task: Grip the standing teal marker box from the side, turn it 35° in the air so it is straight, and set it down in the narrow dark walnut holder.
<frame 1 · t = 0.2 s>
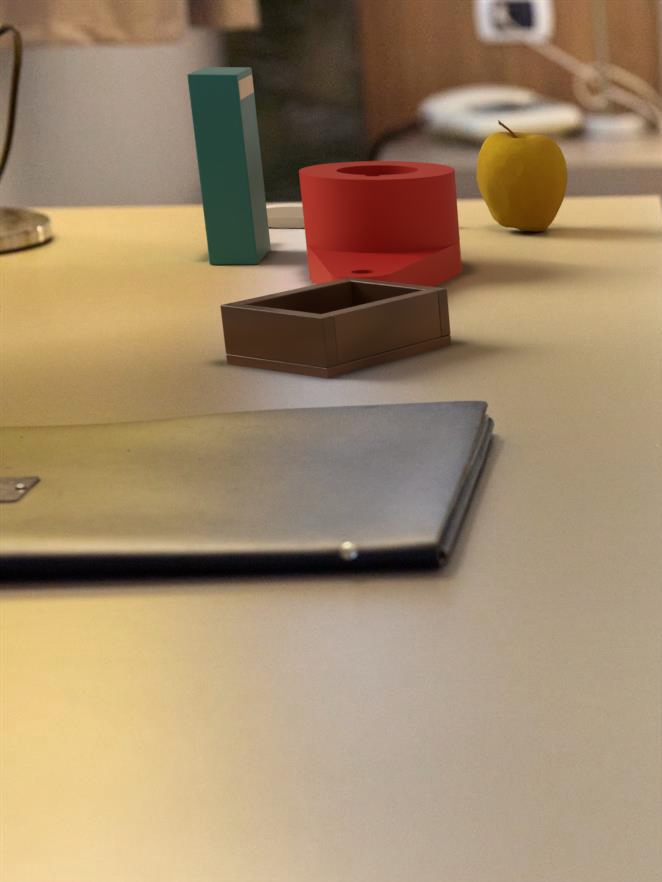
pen: (349, 229, 144), on the table
marker box: (241, 257, 131), on the table
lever: (379, 290, 122), on the table
apple: (525, 234, 144), on the table
holder: (342, 359, 103), on the table
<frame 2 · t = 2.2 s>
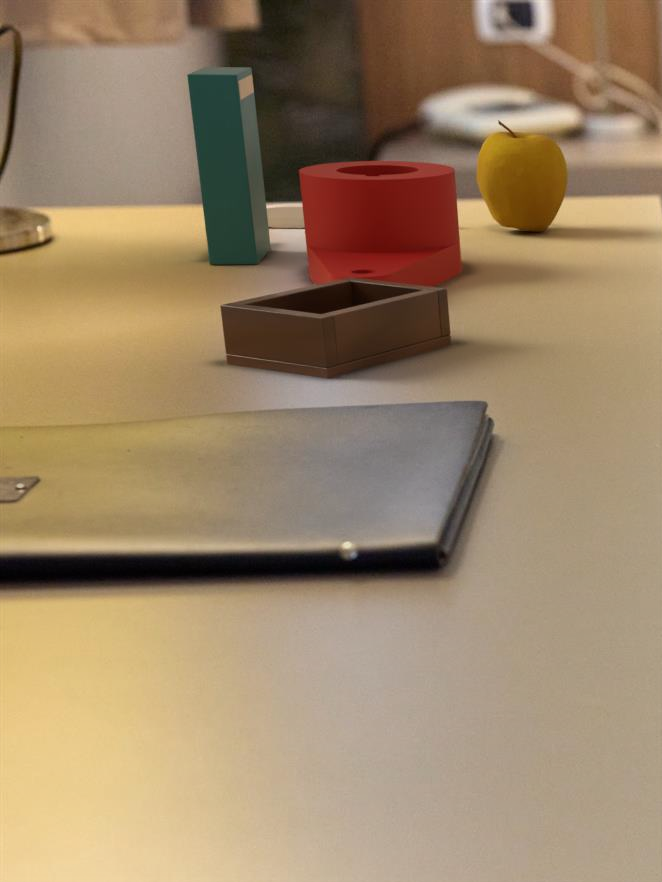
nothing on the table moved.
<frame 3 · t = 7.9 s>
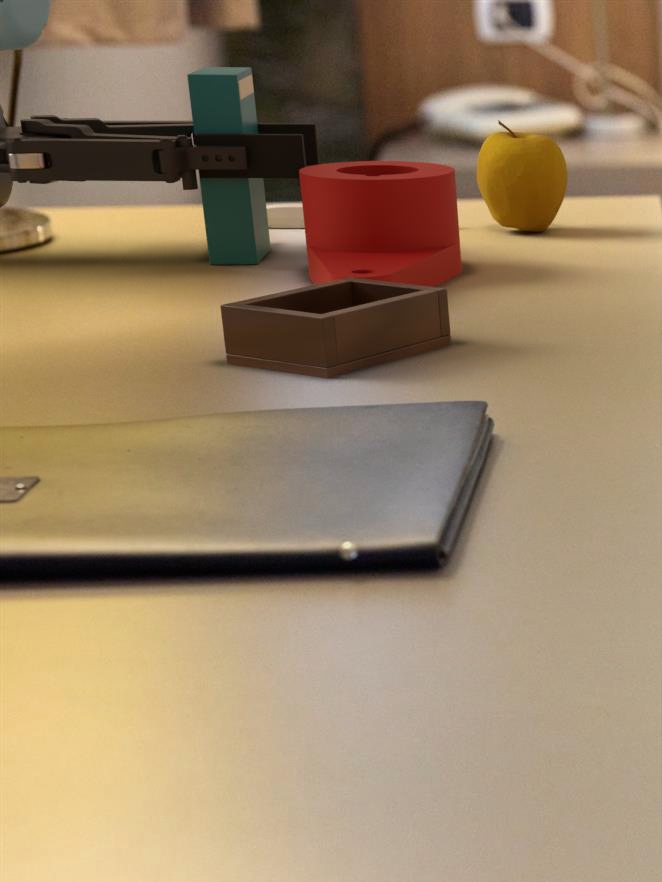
hand: (310, 150, 129), 7 cm above the table, tool horizontal, fingers closed on marker box, 6 cm apart
marker box: (241, 257, 131), on the table, touching gripper
everything else where it was.
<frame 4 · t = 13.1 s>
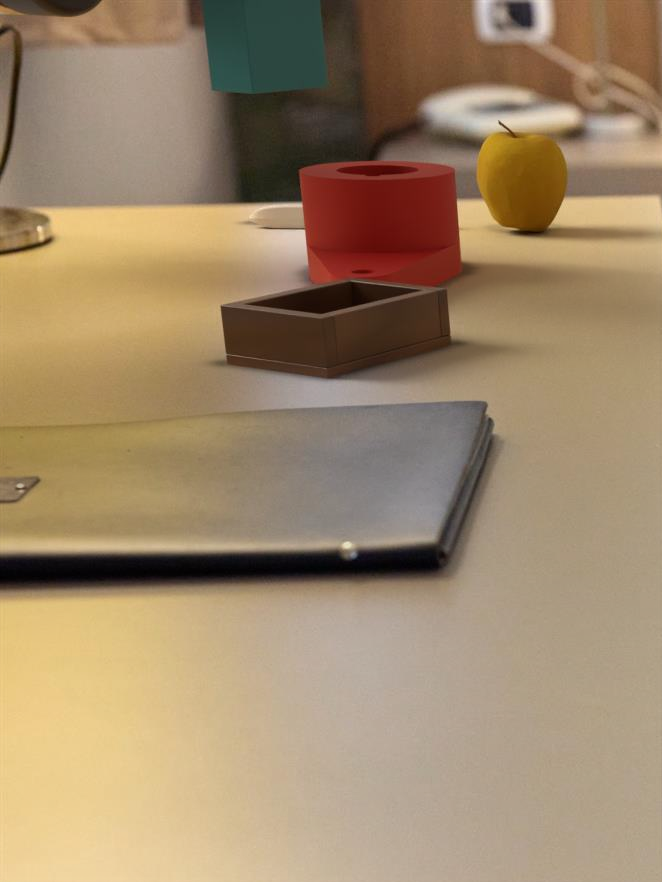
marker box: (270, 88, 111), point 12 cm above the table, touching gripper
everything else where it was.
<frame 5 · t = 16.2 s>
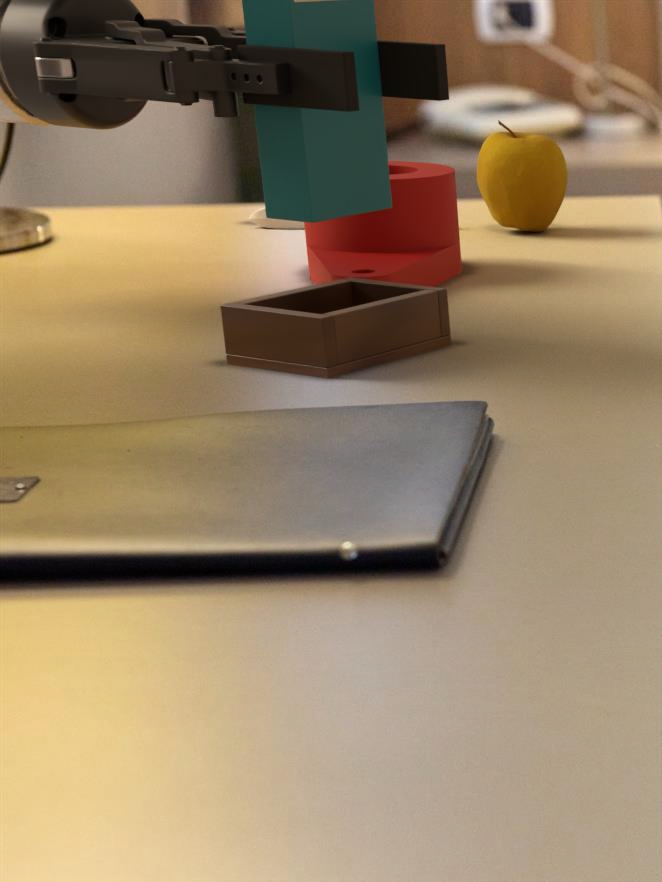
hand: (397, 77, 96), 15 cm above the table, tool horizontal, fingers closed on marker box, 6 cm apart
marker box: (330, 213, 100), point 8 cm above the table, touching gripper
everything else where it was.
when the fingers open (8 cm above the table, at t = 18.4 s): marker box stays where it is, resting on holder.
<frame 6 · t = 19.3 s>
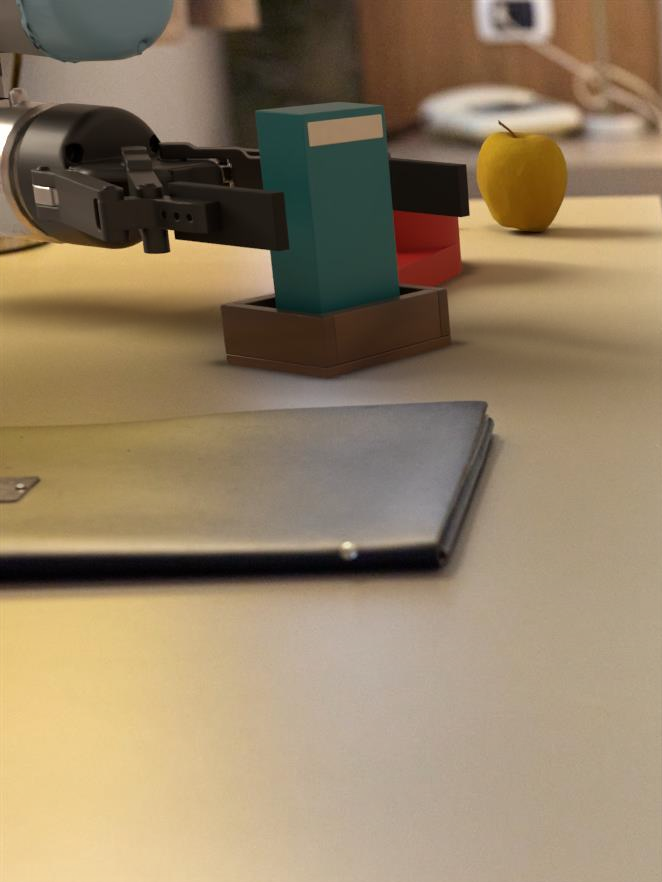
hand: (378, 205, 99), 8 cm above the table, tool horizontal, fingers open, 13 cm apart
marker box: (343, 343, 103), point 1 cm above the table, touching holder
everything else where it was.
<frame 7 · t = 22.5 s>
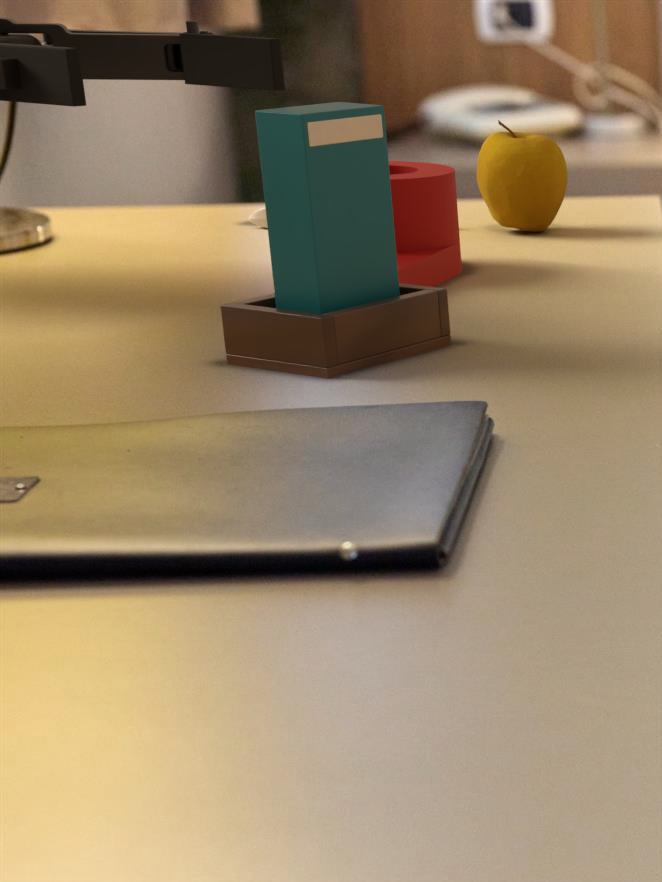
hand: (183, 70, 101), 14 cm above the table, tool horizontal, fingers open, 13 cm apart
nothing on the table moved.
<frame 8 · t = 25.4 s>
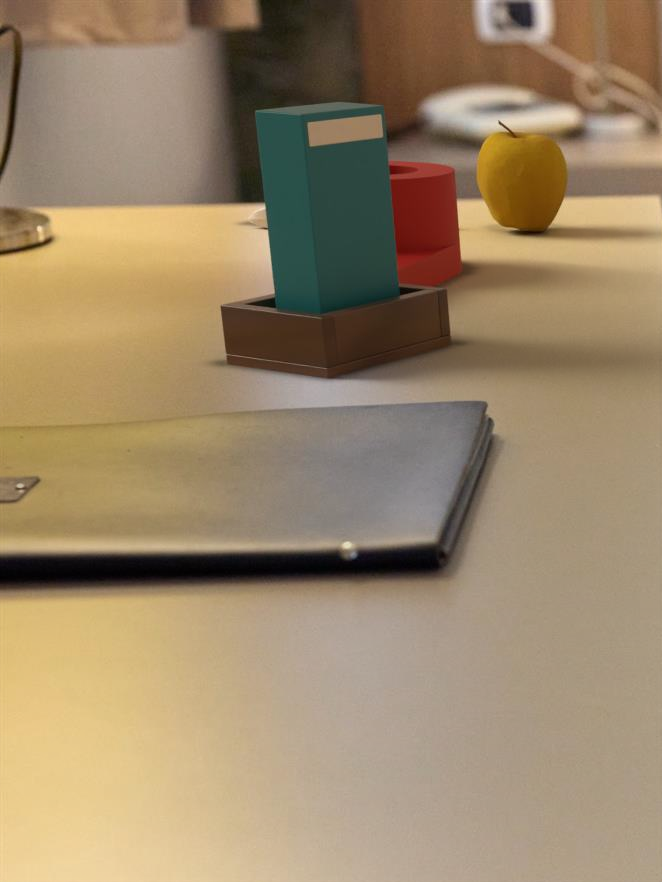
nothing on the table moved.
at the end: marker box 0.1 cm off-centre in the holder, point 0.8 cm above the holder's base; marker box tilted 0°; the gripper is holding nothing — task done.
